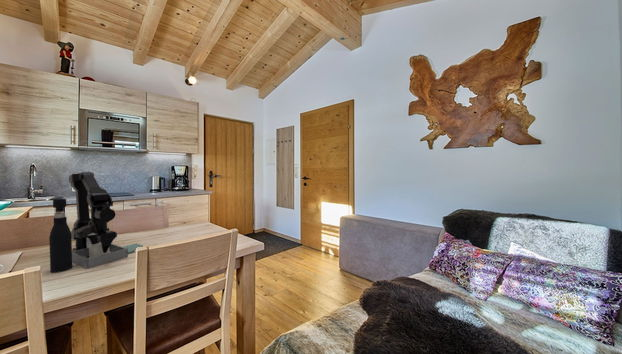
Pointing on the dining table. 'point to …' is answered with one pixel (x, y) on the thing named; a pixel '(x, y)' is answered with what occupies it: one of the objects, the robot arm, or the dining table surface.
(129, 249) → the mat
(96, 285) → the dining table surface
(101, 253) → the block
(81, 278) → the dining table surface
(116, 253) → the grey tray
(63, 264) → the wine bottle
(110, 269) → the dining table surface
